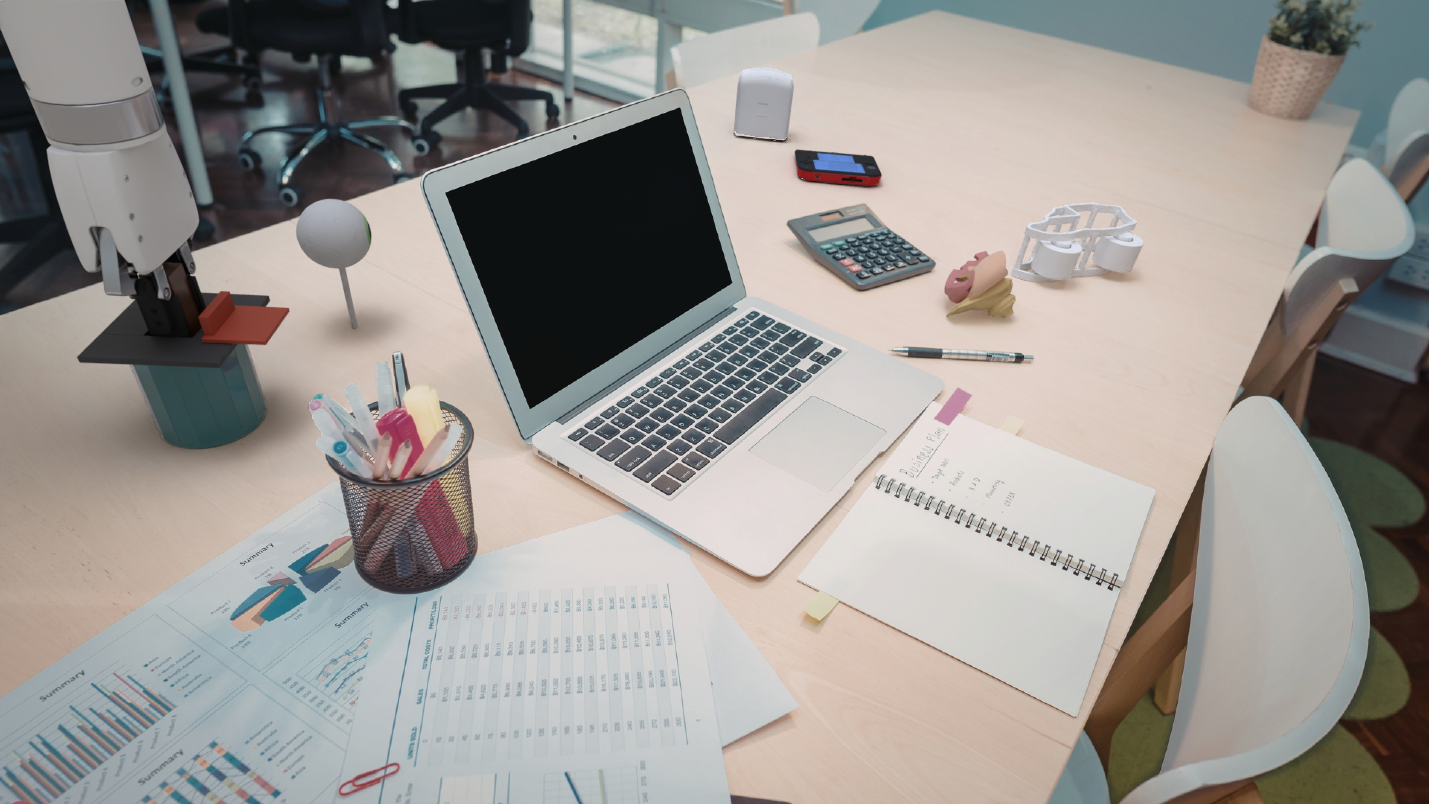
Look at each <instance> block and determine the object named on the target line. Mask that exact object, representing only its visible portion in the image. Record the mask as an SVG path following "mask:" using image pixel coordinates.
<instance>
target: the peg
mask: <svg viewBox="0 0 1429 804" xmlns="http://www.w3.org/2000/svg"><path fill="white" fill-rule="evenodd" d="M162 266H163V269H164V272H165V274H166V277H167V280H168V283H169V286H170V289H171V294H177V295H178V296H179V299H180V302H181V304H182V307H183V310H184V312H185V315H186V318H187V321H188V323H189V326H190V329H191V334H190V335H189V336H188V337H187V338H193V337H194V336H195V335H196V334H197V332H198V331H199V330H200V329H201V328H202V326H201V323H200V321H199V318H198V317H199V316H200V314H199V311H198V308H197V305H196V303H195V300H194V297H193V294H192V291H191V288H190V286H189V283H188V280H187V277H186V274H185V271H184V268H183V265H182V263H168V262H163V263H162ZM138 277H139V279H147V280H149V281H151V278H150V275H149V274H146V275H140V274H138ZM151 282H152V281H151Z"/></svg>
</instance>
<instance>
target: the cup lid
mask: <svg viewBox="0 0 1429 804" xmlns="http://www.w3.org/2000/svg"><path fill="white" fill-rule="evenodd" d="M201 294H202V297H203V300H204V302H205V305H206V307H207V306H208V305H209V304H210V303H211V302H212V301H213V299H214V298H215V297H216V296H217V295H218V294H219V292H202V291H201ZM230 294H231V297H232V300H233V304H234V305H239V306H261V307H268V305H269V304H270V302H271V298H270V295H268V294H267V295H264V294H262V295H261V294H246V293H245V294H244V293H243V294H242V293H230ZM204 335H205V334H204V332H203V329H202V328H201V329H200V330H199V331H198V332H197V334H196V335H195V336H194V337H193V338H187V337H163V336H151V334H150V333H149V331H148V328H147V326H146V323H145V321H144V318H143V316H142V314H141V311H140V309H139V306H138V304H137V301H136V299H133V300H132V302H130V304H129V305H128V306H127V307H126V308H125V309H124V310H123V311H122V312H121V313H119V314H118V316H116V317H115V319H113V321H112V322H111V323H109V324H108V325H107V326H106V328H104V329H103V331H101V332H100V333H99V334H98V336H96V338H94V339H93V340H92V341H91V342H90V344H89V343H88V345H87V346H86V347H85V348H84V349H83V350H82V351H81V352H80V353H79V354H78V355H77V356H76V359H77V360H78V362H79V363H80V364H104V365H127V366H128V365H129V366H130V365H153V366H179V367H205V368H220V367H221V366H222V364H223V363H224V362H225V360H226V359H227V358H228V356H229V355H230V354H231V352H232V351H233V350H234V348H235V347H236V346H237V344H227V343H203V342H202V337H203V336H204Z"/></svg>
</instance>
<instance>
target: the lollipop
mask: <svg viewBox="0 0 1429 804" xmlns="http://www.w3.org/2000/svg"><path fill="white" fill-rule="evenodd" d="M295 235H296V240H297V242H298V245H299V247H300V249H301V250H302V252H303V253H304V254H305V255H306V256H307V258H309V259H310V260H311V261H312V262H314V263H316V264H318V265H320V266H322V267H326V268H329V269H335V270H337V269H338V271H339V276H340V281H341V285H342V290H343V293H344V298H345V303H346V307H347V311H348V318H349V321H350V327H351V329H357V328H358V327H359V326H358V321H357V316H356V312H355V307H354V302H353V298H352V293H351V288H350V283H349V278H348V274H347V269H346V268H350V267H352V266H355V265H356V264H358V263H359V262H360V261H362V260H363V259H364V258H365V257H366V256H367V254H368V252H369V250H370V248H371V245H372V229H371V226H370V223H369V221H368V219H367V217H366V216H365V214H364V213H363V212H362V211H361V210H360V209H359V208H357V207H356V206H355V205H354V204H352V203H349V202H348V201H344V200H342V199H336V198H326V199H320V200H318V201H317V200H316V201H315V202H313V203H311V204H310V205H308V206H307V207H305V208H304V209H303V211H302V212H301V214H300V216H299V217H298V220H297V223H296V225H295Z"/></svg>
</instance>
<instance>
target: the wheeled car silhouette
mask: <svg viewBox="0 0 1429 804" xmlns="http://www.w3.org/2000/svg"><path fill="white" fill-rule="evenodd" d="M1082 212H1090V215H1089V216H1088V219H1087V222H1086V225H1085V227H1084V228H1078V229H1077V227H1078V224H1079V222H1080V219H1081V216H1082V214H1081V213H1082ZM1098 213H1100V214H1114V215H1113V217H1112V220H1111V222H1110V224H1109V227H1099V228H1098V227H1096V228H1095V227H1093V225H1094V222H1095V220H1096V217H1097V214H1098ZM1119 220H1120V222H1122V225H1119V226H1117V225H1118V223H1119ZM1137 223H1138V220H1136V219H1135V218H1133V217H1131V215H1129V213H1127V212H1126V211H1125V208H1124V207H1123V206H1120V205H1116V204H1103V203H1101V202H1081V203H1069V204H1068V203H1067V204H1062V205H1061V206H1055V207H1052V208H1051V210H1050V211H1049V212H1047V213H1046V214H1045V215H1044V218H1043V220H1041V221H1034V222H1029V223H1028V224H1027V225H1026V226H1025V230H1024V233H1023V234H1024V237H1023V241H1022V243H1021V246H1020V248H1019V251H1018V255H1017V257H1016V261H1015V263H1014V264H1013V267H1012V269H1011V272H1010V275H1011V276H1012V277H1014V278H1017V279H1020V280H1023V281H1025V282H1031V283H1032V282H1033V283H1049V282H1056V281H1064V280H1065V281H1066V280H1069V279H1070V278H1084V277H1097V276H1102V275H1105V274H1107V273H1109V272H1114V273H1128V272H1131V271H1132V270H1133V268H1134V267H1135V264H1136V262H1137V259H1138V257H1139V255H1140V253H1141V250H1142V248H1143V247H1144V244H1145V241H1144V240H1143V238H1141V236H1139V235H1138V234H1135V233H1133V231H1134V230H1135V228H1136V226H1137ZM1067 224H1070V226H1069V229H1068V231H1065V232H1060V231H1061V228H1062V226H1063V225H1067ZM1049 226H1054V229H1053V232H1051V231H1047V229H1048V227H1049ZM1092 227H1093V228H1092ZM1088 238H1089V239H1088ZM1097 238H1099V240H1098V242H1096V241H1097ZM1031 239H1035V240H1036V241H1035V243H1034V246H1033V249H1032V252H1031V255H1030V257H1029V260H1028V261H1024V257H1025V255H1026V252H1027V249H1028V248H1029V247H1028V246H1029V243H1030V242H1031V241H1030V240H1031ZM1077 239H1080V240H1077ZM1087 239H1088V242H1087ZM1082 251H1084V253H1083V254H1082ZM1092 252H1093V254H1092V256H1091V253H1092ZM1081 254H1082V257H1081V260H1080V261H1079V259H1080V256H1081ZM1090 256H1091V260H1092V262H1093V263H1094V264H1095V265H1097V267H1086V265H1087V263H1088V260H1089V258H1090ZM1023 261H1024V262H1023ZM1078 261H1079V265H1078V267H1077V268H1076V266H1077V264H1078ZM1030 269H1031V270H1032V271H1033V272H1031V271H1028V270H1030Z"/></svg>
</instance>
